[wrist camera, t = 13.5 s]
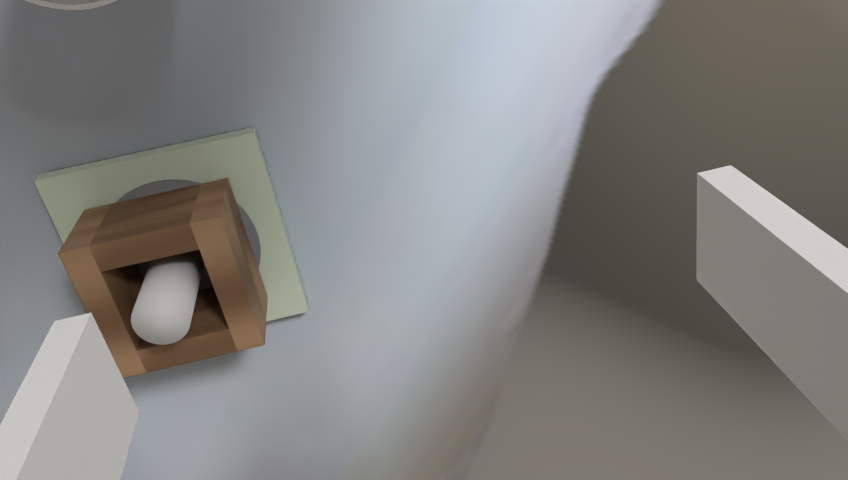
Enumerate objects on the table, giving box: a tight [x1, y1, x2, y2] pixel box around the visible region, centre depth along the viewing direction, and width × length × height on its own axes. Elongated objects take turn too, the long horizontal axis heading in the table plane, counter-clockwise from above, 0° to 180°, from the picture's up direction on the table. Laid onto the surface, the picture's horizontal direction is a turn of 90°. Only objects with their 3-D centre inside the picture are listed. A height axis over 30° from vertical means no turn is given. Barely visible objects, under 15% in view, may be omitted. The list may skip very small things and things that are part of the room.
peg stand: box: [34, 127, 309, 345], centre depth 40 cm, size 12×12×8 cm
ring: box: [58, 178, 268, 378], centre depth 40 cm, size 8×8×5 cm
